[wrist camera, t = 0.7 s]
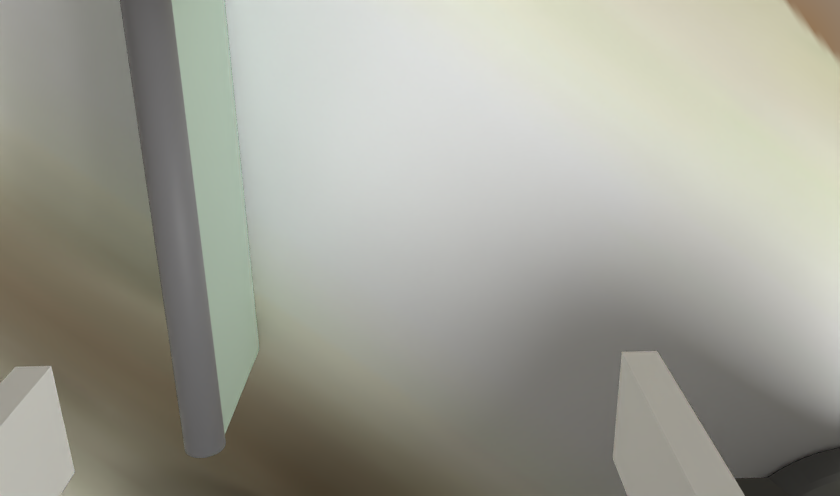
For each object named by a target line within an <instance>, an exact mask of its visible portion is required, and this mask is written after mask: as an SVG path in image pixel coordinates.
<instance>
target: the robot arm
mask: <svg viewBox="0 0 840 496" xmlns="http://www.w3.org/2000/svg"><path fill="white" fill-rule="evenodd" d="M613 461H614V463H615V466H616V468H617V471H618V473H619V476H620V479H621V481H622V484H623V486H624V489H625V491H626V494H627V496H840V448H837V449H832V450H828V451H824V452H821V453H817V454H814V455H811V456H809V457H806V458H803V459H801V460H799V461H796V462H794V463H792V464H790V465H788V466H786V467H784V468H782V469H781V470H779V471H777V472H776V473H774V474H773V475H771V476H769V477H768V478H738V479H735V478H734V477H733V475H732V473H731V472H730V470H729V468H728V467H727V465H726V464H725V462H724V460H723V459H722V457H721V455H720V454H719V452H718V450H717V449H716V447H715V445H714V444H713V442H712V440H711V439H710V437H709V435H708V434H707V432H706V430H705V429H704V427H703V426H702V424H701V422H700V421H699V419H698V417H697V416H696V414H695V412H694V411H693V409H692V407H691V406H690V404H689V402H688V401H687V399H686V397H685V396H684V394H683V392H682V391H681V389H680V388H679V386H678V384H677V383H676V381H675V379H674V378H673V376H672V374H671V373H670V371H669V369H668V368H667V366H666V364H665V363H664V361H663V359H662V358H661V356H660V354H659V353H658V351H632V352H622V354H621V366H620V377H619V389H618V401H617V412H616V424H615V436H614V448H613ZM74 473H75V470H74V465H73V461H72V456H71V452H70V447H69V443H68V438H67V434H66V430H65V425H64V421H63V416H62V412H61V407H60V403H59V398H58V394H57V389H56V385H55V380H54V376H53V372H52V367H51V366H25V367H15V368H14V369H13V370H12V371H11V372H10V373H9V374H8V375H7V376H6V377H5V378H4V380H3V381H2V382H1V383H0V496H60V495H61V494H62V492H63V490H64V489H65V487H66V486H67V484H68V482H69V481H70V479H71V478H72V476H73V474H74Z"/></svg>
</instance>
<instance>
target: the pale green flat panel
mask: <svg viewBox="0 0 840 496" xmlns="http://www.w3.org/2000/svg"><path fill="white" fill-rule="evenodd" d="M120 4H121V11H122V18H123V25H124V32H125V39H126V46H127V53H128V59H129V66H130V73H131V80H132V87H133V94H134V101H135V108H136V115H137V122H138V129H139V135H140V142H141V149H142V156H143V163H144V170H145V177H146V184H147V191H148V198H149V205H150V211H151V218H152V225H153V232H154V239H155V246H156V253H157V260H158V267H159V274H160V281H161V288H162V294H163V301H164V308H165V315H166V322H167V329H168V336H169V343H170V350H171V357H172V364H173V370H174V377H175V384H176V391H177V398H178V405H179V412H180V419H181V426H182V433H183V440H184V446H185V452H186V454H188V455H189V456H191V457H195V458H206V457H210V456H213V455H215V454H217V453H219V452H220V451H222V450H223V449H224V447H225V445H226V441H225V433H226V431H227V428H228V426H229V423H230V421H231V418H232V416H233V413H234V411H235V408H236V406H237V403H238V401H239V398H240V396H241V394H242V391H243V389H244V386H245V384H246V381H247V379H248V376H249V374H250V371H251V369H252V366H253V364H254V361H255V359H256V356H257V354H258V352H259V340H258V329H257V319H256V309H255V299H254V289H253V279H252V269H251V259H250V249H249V239H248V229H247V219H246V209H245V199H244V189H243V179H242V169H241V159H240V149H239V139H238V129H237V119H236V109H235V99H234V89H233V79H232V69H231V59H230V49H229V39H228V29H227V19H226V9H225V0H120Z"/></svg>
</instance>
